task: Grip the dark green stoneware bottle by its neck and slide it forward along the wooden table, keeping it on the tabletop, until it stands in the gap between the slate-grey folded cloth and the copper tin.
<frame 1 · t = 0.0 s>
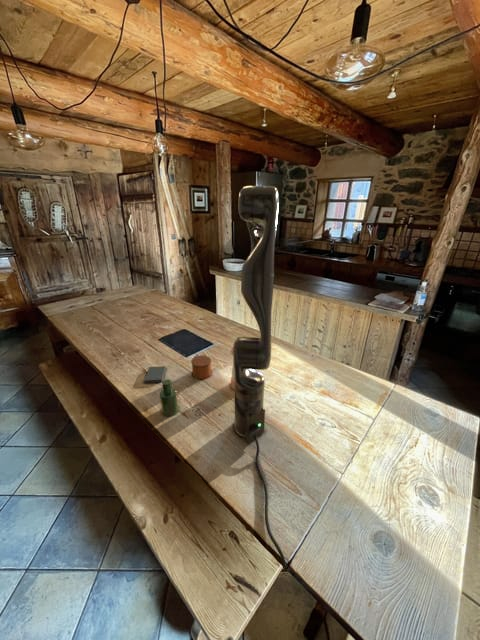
hand: (258, 287, 128), 31 cm above the table, tool tilted 20°, fingers open, 8 cm apart
copper tin: (202, 373, 116), on the table
green bottle: (170, 410, 96), on the table
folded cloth: (155, 375, 115), on the table
pepper shaker: (240, 385, 109), on the table
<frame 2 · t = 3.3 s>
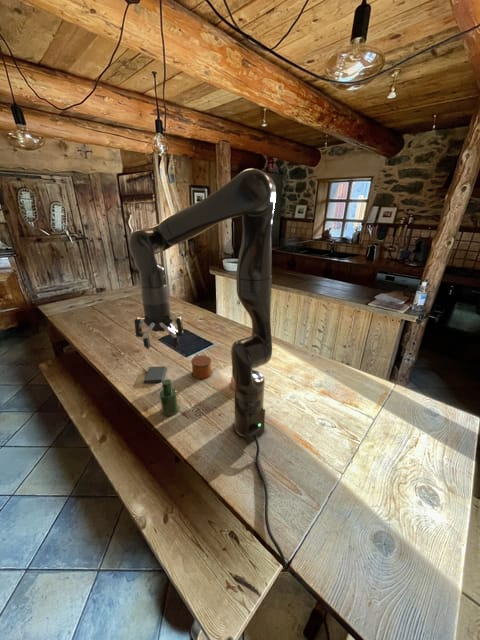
hand: (162, 347, 85), 26 cm above the table, tool pointing down, fingers open, 8 cm apart
nothing on the table moved.
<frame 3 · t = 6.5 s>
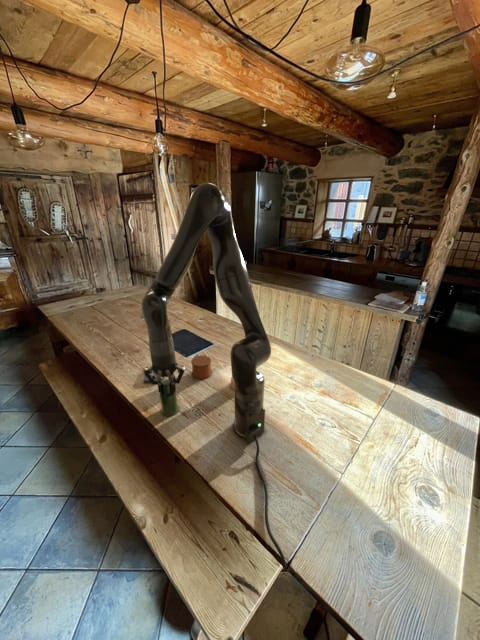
hand: (167, 392, 92), 8 cm above the table, tool pointing down, fingers closed on green bottle, 3 cm apart
green bottle: (170, 410, 96), on the table, touching gripper
everything else where it was.
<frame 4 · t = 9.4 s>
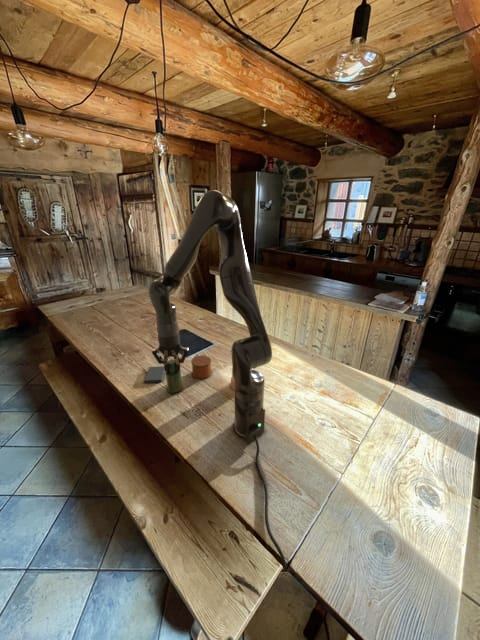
hand: (173, 371, 103), 9 cm above the table, tool pointing down, fingers closed on green bottle, 3 cm apart
green bottle: (174, 388, 106), point 1 cm above the table, touching gripper
everything else where it was.
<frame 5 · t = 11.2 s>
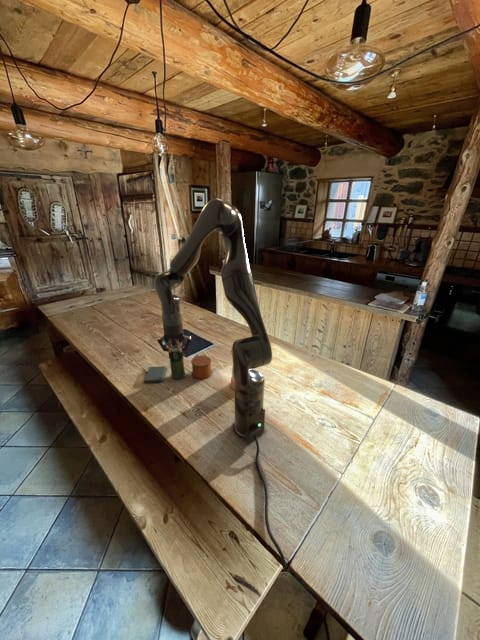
hand: (176, 358, 111), 9 cm above the table, tool pointing down, fingers closed on green bottle, 3 cm apart
green bottle: (178, 374, 115), point 1 cm above the table, touching gripper
everything else where it was.
when the fingers open (8 cm above the table, at t = 12.4 s): green bottle stays where it is, on the table.
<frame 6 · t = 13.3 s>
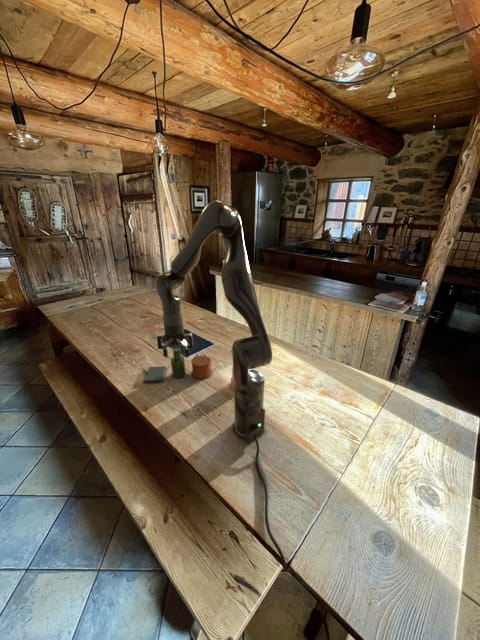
hand: (177, 356, 112), 9 cm above the table, tool pointing down, fingers open, 8 cm apart
green bottle: (179, 374, 116), on the table
everything else where it was.
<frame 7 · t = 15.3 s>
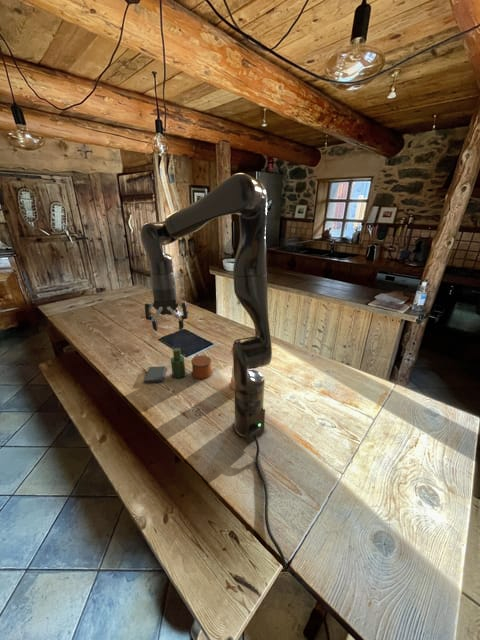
hand: (168, 329, 95), 27 cm above the table, tool pointing down, fingers open, 8 cm apart
nothing on the table moved.
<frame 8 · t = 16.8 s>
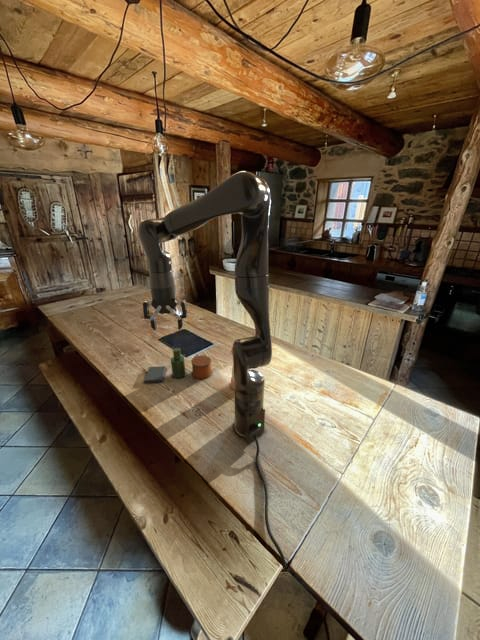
hand: (167, 328, 93), 28 cm above the table, tool pointing down, fingers open, 8 cm apart
nothing on the table moved.
at the end: green bottle 0.1 cm from the target spot on the table beside the copper tin, on the table; green bottle tilted 0° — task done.
